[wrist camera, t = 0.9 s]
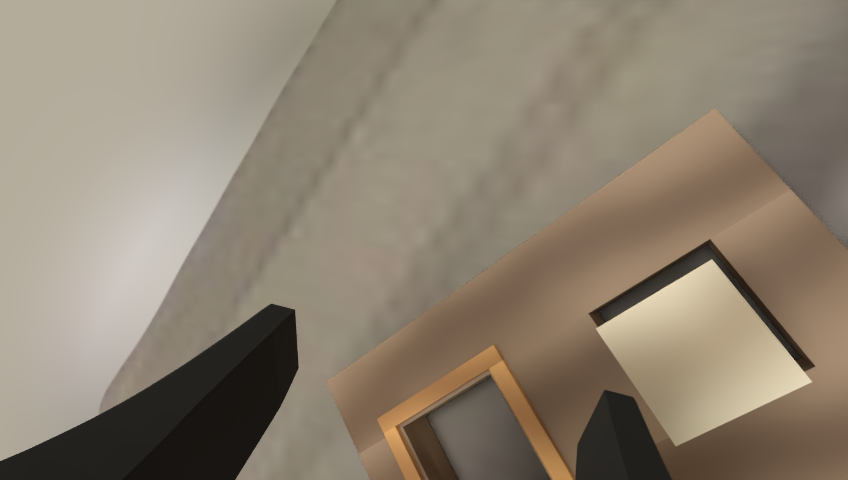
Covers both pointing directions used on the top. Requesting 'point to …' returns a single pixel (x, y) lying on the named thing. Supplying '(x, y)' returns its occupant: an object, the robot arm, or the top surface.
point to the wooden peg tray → (578, 319)
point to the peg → (700, 354)
